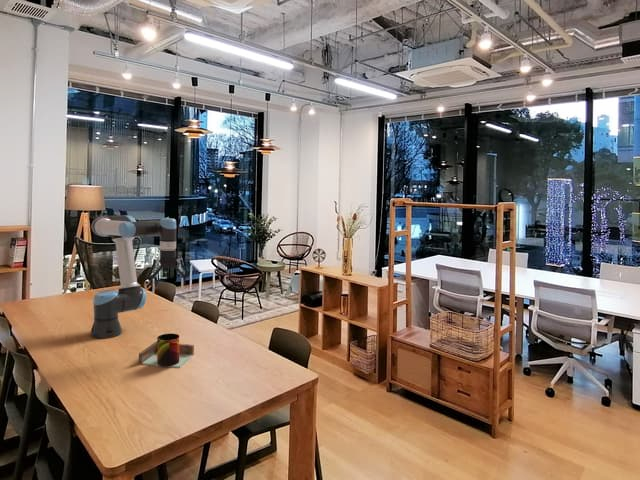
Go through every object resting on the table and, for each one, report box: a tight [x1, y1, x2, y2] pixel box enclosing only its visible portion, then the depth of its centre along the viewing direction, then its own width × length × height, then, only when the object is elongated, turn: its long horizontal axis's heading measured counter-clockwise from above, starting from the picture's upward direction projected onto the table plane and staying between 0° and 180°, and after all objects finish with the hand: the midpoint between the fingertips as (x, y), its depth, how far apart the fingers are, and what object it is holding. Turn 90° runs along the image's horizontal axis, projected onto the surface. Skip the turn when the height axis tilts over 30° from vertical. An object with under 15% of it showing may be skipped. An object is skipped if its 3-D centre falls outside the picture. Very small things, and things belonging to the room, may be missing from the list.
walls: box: [138, 341, 195, 365], centre depth 199 cm, size 20×16×5 cm
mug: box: [156, 333, 180, 367], centre depth 196 cm, size 10×14×12 cm
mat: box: [141, 352, 194, 369], centre depth 199 cm, size 18×14×1 cm
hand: (168, 291), depth 212 cm, fingers open, 13 cm apart
